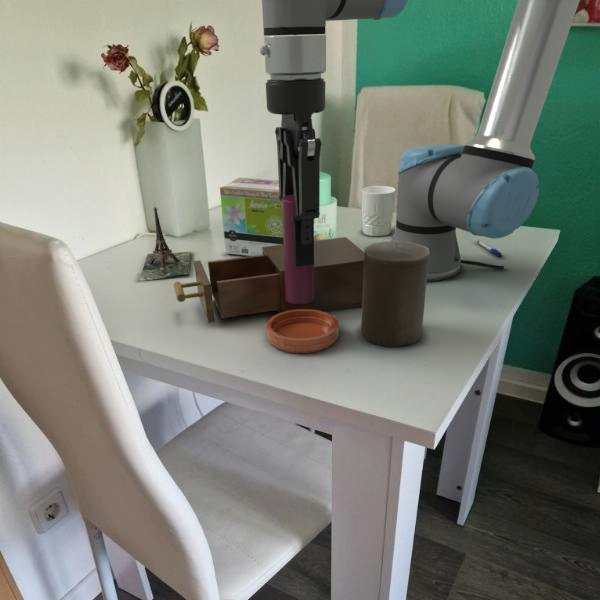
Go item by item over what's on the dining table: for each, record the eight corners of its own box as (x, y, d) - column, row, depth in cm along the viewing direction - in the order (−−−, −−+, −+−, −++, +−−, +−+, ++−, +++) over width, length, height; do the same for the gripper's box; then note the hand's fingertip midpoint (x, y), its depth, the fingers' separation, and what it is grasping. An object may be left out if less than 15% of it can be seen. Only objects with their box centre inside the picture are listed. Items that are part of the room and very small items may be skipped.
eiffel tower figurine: (189, 277, 114) (180, 210, 106) (139, 280, 113) (126, 213, 105) (191, 253, 126) (183, 192, 119) (146, 256, 125) (134, 195, 118)
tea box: (224, 255, 124) (217, 186, 116) (243, 242, 132) (238, 176, 124) (287, 261, 120) (284, 190, 112) (303, 247, 128) (301, 179, 119)
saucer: (325, 318, 95) (325, 304, 94) (348, 348, 86) (348, 333, 85) (260, 328, 93) (259, 314, 92) (277, 359, 84) (276, 345, 82)
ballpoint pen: (503, 257, 118) (503, 252, 117) (499, 257, 118) (500, 253, 117) (478, 242, 126) (479, 238, 126) (475, 243, 126) (476, 238, 126)
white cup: (395, 236, 132) (397, 193, 127) (361, 237, 132) (363, 194, 127) (390, 227, 139) (393, 185, 133) (359, 228, 139) (360, 186, 133)
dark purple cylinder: (309, 291, 88) (308, 192, 80) (318, 302, 84) (317, 199, 76) (282, 295, 87) (278, 195, 79) (290, 305, 83) (286, 202, 75)
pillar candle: (380, 352, 85) (386, 256, 76) (350, 327, 92) (352, 237, 84) (434, 339, 88) (445, 245, 80) (400, 316, 95) (407, 228, 87)
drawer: (182, 326, 92) (176, 288, 89) (175, 299, 102) (169, 264, 98) (296, 310, 97) (295, 273, 93) (278, 285, 106) (277, 250, 103)
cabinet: (282, 318, 96) (280, 271, 91) (264, 290, 107) (261, 247, 102) (371, 305, 100) (373, 259, 95) (345, 279, 110) (345, 236, 106)
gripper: (251, 74, 76) (261, 244, 88) (284, 82, 62) (290, 282, 74) (304, 72, 77) (306, 239, 90) (348, 79, 63) (343, 276, 76)
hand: (299, 258), depth 82 cm, fingers closed on dark purple cylinder, 4 cm apart
